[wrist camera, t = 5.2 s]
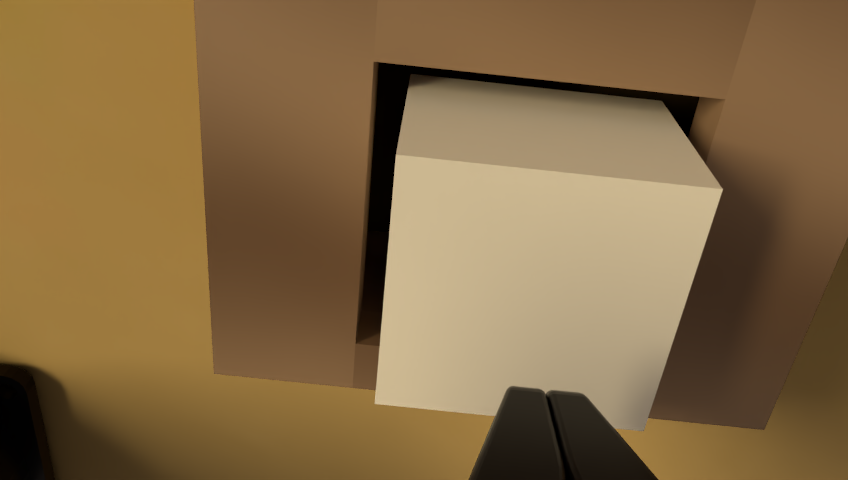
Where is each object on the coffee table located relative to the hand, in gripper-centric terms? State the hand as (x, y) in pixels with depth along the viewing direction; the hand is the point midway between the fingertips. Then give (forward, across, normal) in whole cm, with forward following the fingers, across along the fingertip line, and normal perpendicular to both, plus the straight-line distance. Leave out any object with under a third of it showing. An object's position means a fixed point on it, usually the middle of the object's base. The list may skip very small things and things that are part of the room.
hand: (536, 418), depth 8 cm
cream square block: (+5, 0, 0) cm, 5 cm away
